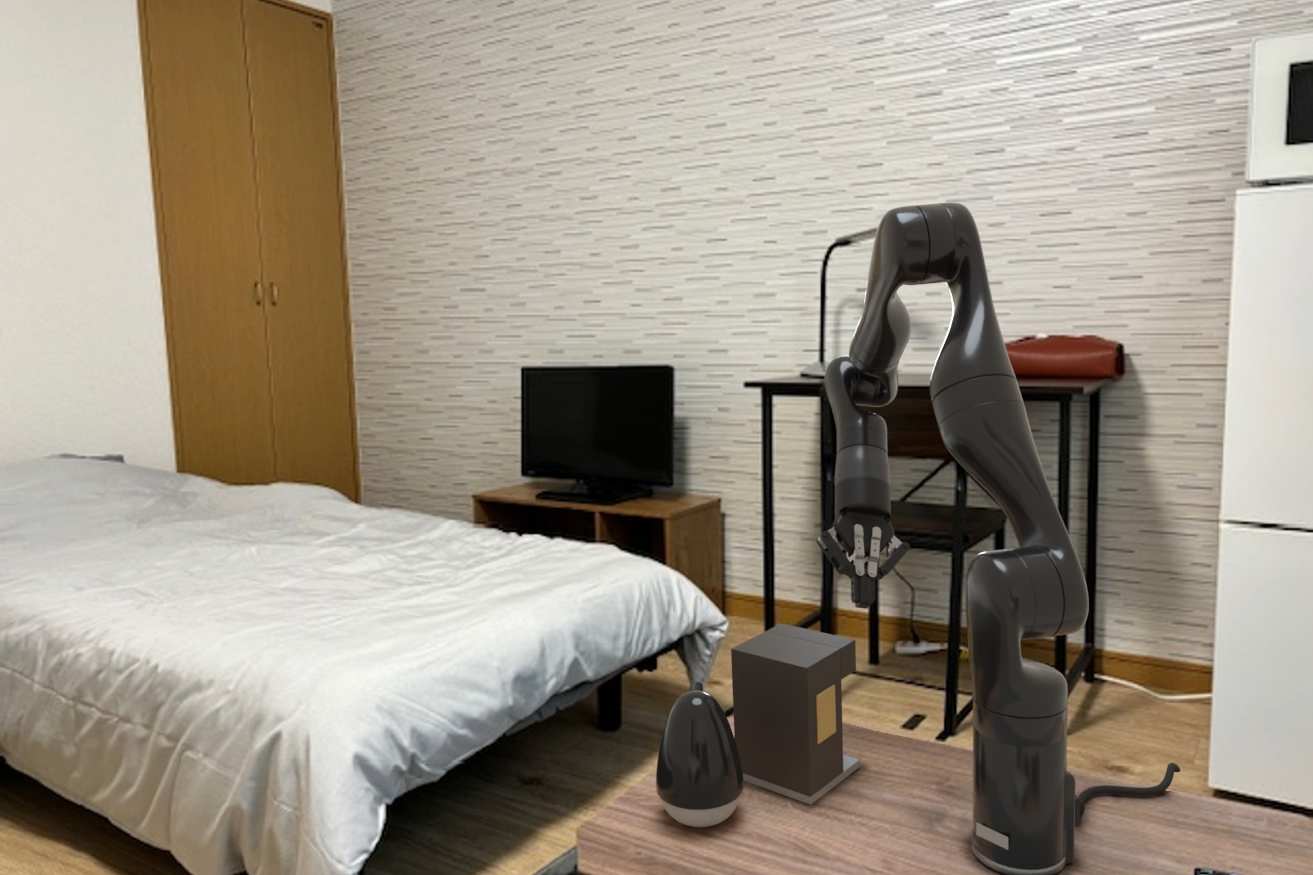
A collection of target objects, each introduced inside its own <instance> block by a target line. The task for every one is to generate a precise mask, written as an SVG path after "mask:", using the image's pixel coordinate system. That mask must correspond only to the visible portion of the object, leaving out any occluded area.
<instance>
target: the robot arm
mask: <svg viewBox="0 0 1313 875" xmlns="http://www.w3.org/2000/svg"><path fill="white" fill-rule="evenodd" d="M876 229H877V230H876V232H875V236H874V241H873V245H872V252H871V257H870V263H869V268H868V269H869V270H868V275H867V281H866V289H865V295H864V303H863V309H862V312H861V316H860V319H859V321H858V324H857V326H856V328H855V331H854V334H853V336H852V339H851V342H850V344H849V349H848V355H839V356H836V357H834V358H833V359H832V360H831V361H830V362H829V363H828V365H827V366H826V369H825V371H824V372H825V373H824V388H825V392H826V396H827V398H828V402H829V405H830V407H831V411H832V414H833V419H834V422H835V429H836V462H835V468H834V477H833V483H834V520H833V522H832V524H831V526H830V527H831V528H830V529H828V530H823V531H822V532H821V533H820V534H819V535H818V536H817V537H816V539H815V542H816V544H817V545H818V547H819V548H820V549H821V551H822V552H823V553H824V555H825V557H826V558H827V559H828V561H829V562H830V564H831V565H832V567H833V568H834V569H835V571H836V572H837V573H838V574H839V575H844V576H845V577H848V578H849V579H850V600H851V602H852V604H854V605H855V608H858V609H865V610H867V609H869V608H870V607H871V605H872V604H873V603H875V601H876V580H879V581H880V580H882V579H883V578H885V577H886V576H887V575H889V573H890V572H892V570H893V569H894V568H895V566H897V564H898V563H899V562H900V561H901V559H902V558H903V557H904V556H905V555H906V553H907V552H908V551H909V550H910V548H911V546H910V544H909V543H908V542H907V541H904V542H903V541H901V539H899V538H898V537H897V536H896V535H895V530H894V527H893V525H892V521H891V516H892V508H891V507H892V506H891V504H892V502H891V500H892V499H891V471H890V470H891V469H890V462H889V457H888V455H889V453H888V426H887V423H886V420H885V419H884V418H883V417H882V416H881V415H879V414H877V413H874V412H871V411H869V410H866V409H865V408H864V409H863V408H862V407H872V408H882V407H886V406H887V405H889V404H891V403H892V402H893V401H894V400H895V399H896V397H897V394H898V391H899V372H898V371H899V370H898V369H899V363H900V360H901V358H902V355H903V353H904V352H905V349H906V347H907V345H908V344H909V340H910V338H911V334H912V319H911V316H910V313H909V311H908V309H907V307H906V304H905V303H904V302H903V300H902V299H901V296H900V295H899V294H898V292H897V291H898V290H899V289H900V288H901V287H902V286H919V285H930V284H940V283H945V284H946V286H947V287H948V290H949V292H950V297H951V306H952V316H951V320H950V324H949V326H948V327H949V328H948V331H947V333H946V336H945V338H944V341H943V343H942V345H941V347H940V350H939V353H938V355H937V358H936V360H935V363H934V366H933V368H932V372H931V374H930V375H931V376H930V381H929V382H930V383H929V395H930V399H931V403H932V407H933V410H934V415H935V418H936V422H937V426H938V430H939V433H940V436H941V439H942V441H943V444H944V446H945V447H946V449H947V450H948V452H949V453H950V454H951V456H952V457H953V458H954V460H956V461H957V462H958V464H959V465H960V466H961V467H962V468H963V469H964V470H965V471H966V472H967V473H968V474H969V476H971V477H972V478H973V479H974V480H975V481H976V482H977V483H978V484H979V485H980V486H981V487H982V488H983V489H984V490H985V491H986V492H987V493H988V494H989V495H990V496H991V497H992V498H993V499H994V500H995V502H996V503H997V505H998V506H999V507H1000V509H1001V510H1002V511H1003V513H1004V514H1005V517H1006V518H1007V520H1008V522H1009V524H1010V526H1011V528H1012V531H1013V534H1014V536H1015V539H1016V541H1017V543H1018V546H1019V547H1014V548H1013V547H1012V548H1004V549H994V550H987V551H982V552H979V553H977V554H976V555H974V556H973V557H972V559H971V560H970V561H969V564H968V567H967V568H966V574H965V579H964V580H965V581H964V601H965V617H966V631H967V636H966V637H967V658H968V659H967V660H968V666H969V671H970V676H971V683H972V835H971V849H972V853H973V854H974V856H975V857H976V859H977V860H979V861H980V862H981V863H982V864H983V865H985V866H986V867H988V868H990V869H992V870H994V871H996V872H997V873H1001V874H1005V875H1055V874H1057V873H1059V872H1060V871H1061V870H1062V869H1064V868H1065V866H1066V865H1067V864H1068V865H1069V864H1073V863H1075V828H1078V827H1080V826H1081V820H1082V818H1083V815H1084V813H1085V810H1086V805H1085V802H1086V801H1087V800H1088V799H1089V798H1090V797H1092V796H1095V795H1100V794H1117V795H1126V796H1155V795H1158V794H1159V795H1160V793H1163V792H1165V791H1166V790H1167V789H1168V788H1169V787H1170V786H1171V784H1172V782H1173V779H1174V775H1175V773H1180V772H1182V771H1181V768H1180V766H1179V765H1178V764H1177V763H1175V762H1170V763H1168V764H1167V767H1166V771H1165V774H1164V777H1163V779H1162V780H1161V782H1160V783H1158V784H1157V785H1154V786H1147V787H1134V786H1123V785H1108V784H1106V785H1105V784H1104V785H1103V784H1102V785H1093V786H1091V787H1088V788H1086V789H1084V790H1083V791H1081V792H1080V793H1079V795H1077V794H1076V778H1075V775H1073V774H1072V773H1071V772H1070V771H1068V768H1067V767H1068V704H1069V703H1068V702H1069V698H1068V697H1069V690H1068V689H1069V688H1068V682H1067V680H1066V678H1065V676H1064V674H1063V673H1062V672H1060V671H1059V670H1057V669H1056V668H1054V667H1053V666H1051V665H1048V664H1046V663H1044V662H1041V661H1038V660H1035V659H1032V658H1031V659H1030V658H1026V657H1023V656H1022V651H1021V641H1025V640H1027V641H1028V640H1035V639H1043V638H1051V637H1052V638H1053V637H1060V636H1066V635H1070V634H1074V633H1077V632H1079V631H1080V630H1081V629H1083V627H1084V626H1085V624H1086V622H1087V619H1088V615H1089V605H1090V602H1089V592H1088V585H1087V581H1086V578H1085V574H1084V571H1083V568H1082V565H1081V562H1080V560H1079V556H1078V554H1077V552H1076V550H1075V547H1074V545H1073V542H1072V539H1071V537H1070V535H1069V531H1068V529H1067V527H1066V525H1065V522H1064V520H1063V518H1062V516H1061V513H1060V510H1059V509H1058V506H1057V503H1056V500H1055V499H1054V495H1053V494H1052V491H1051V488H1050V486H1049V483H1048V480H1047V477H1046V474H1045V471H1044V469H1043V468H1044V467H1043V465H1042V462H1041V458H1040V454H1039V452H1038V450H1037V446H1036V443H1035V438H1034V436H1033V432H1032V430H1031V429H1032V428H1031V425H1030V421H1029V418H1028V414H1027V410H1026V406H1025V403H1024V399H1023V397H1022V393H1021V389H1020V386H1019V383H1018V379H1017V377H1016V374H1015V370H1014V369H1013V365H1012V362H1011V360H1010V357H1009V354H1008V350H1007V347H1006V344H1005V341H1004V338H1003V333H1002V330H1001V326H1000V323H999V320H998V316H997V312H996V309H995V304H994V300H993V296H992V295H993V294H992V290H991V286H990V281H989V275H988V270H987V266H986V260H985V255H984V250H983V245H982V241H981V237H980V233H979V229H978V226H977V224H976V220H975V218H974V216H973V214H972V213H971V211H970V209H969V208H968V207H967V206H966V205H964V204H962V203H960V202H959V203H958V202H939V203H929V204H928V203H927V204H915V205H914V204H913V205H905V206H898V207H894V208H891V209H889V210H887V211H886V212H885V214H884V215H883V216H882V218H881V219H880V221H879V223H878V227H877V228H876ZM859 406H861V407H859ZM838 542H839V544H840V545H841V547H842V548H843V550H844V551H845V552H846V554H845V553H844V551H843V550H842V549H841V547H840V545H839V544H838ZM887 545H888V546H889V547H888V549H887V552H888V554H889V556H888V557H886V559H885V561H883V562H882V564H881V565H880V566H879V567H878V562H879V560H880V554H881V553H882V552H883V550H884V549H886V547H887Z"/></svg>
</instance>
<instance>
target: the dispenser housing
mask: <svg viewBox="0 0 1313 875" xmlns="http://www.w3.org/2000/svg"><path fill="white" fill-rule="evenodd" d="M856 654H857V651H856V639H854V638H849V637H845V636H840V635H836V634H831V633H826V632H823V631H819V630H818V631H817V630H813V629H810V628H809V629H808V628H805V627H799V626H795V625H791V624H786V623H779V624H778V625H776V626H772V627H771V628H769V629H767V630H766V631H763V632H761V633H759V634H758V635H755V636H753V637H752V638H750V639H747V640H745V641H743V642H742V643H739V644H738V645H735V646H734V647H732V648H730V657H731V680H732V681H731V683H732V684H731V685H732V686H731V687H732V709H733V710H732V711H733V735H734V738H735V741H736V745H737V748H738V752H739V756H740V761H741V766H742V771H743V779H744V782H746V783H749V784H752V785H754V786H757V787H760V788H763V789H766V790H768V791H770V792H773V793H776V794H779V795H781V796H785V797H787V798H790V799H793V800H796V801H799V802H801V803H805V804H807V805H813V804H814V803H815V802H817V801H818V800H819V799H820V798H822V797H823V796H825V795H826V794H827V793H828V792H830V791H831V790H832V789H833V788H835V787H836V786H837V785H839V784H840V783H842V781H844V780H845V779H846V778H847V777H849V776H850V775H852V773H854V772H855V771H857V770H858V769H859V768H860V767H861V760H860V759H859V758H855V757H852V756H850V755H847V754H844V740H843V737H844V736H843V735H844V734H843V693H842V690H843V689H842V688H843V687H842V680H843V679H845V678H847V677H848V676H850V675H852V674H853V673H854V672H856V671H857V655H856Z"/></svg>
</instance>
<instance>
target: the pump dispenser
mask: <svg viewBox="0 0 1313 875" xmlns="http://www.w3.org/2000/svg"><path fill="white" fill-rule="evenodd" d="M692 689H693V690H689V691H687V692H685V693H683V694H681V695H680V696H679V697H678V698H677V699H676V701H675V702H674V703H673V705H672V707H671V708H670V711H669V713H668V716H667V718H666V721H665V724H664V728H663V732H662V736H661V740H660V744H659V748H658V749H659V750H658V755H657V762H656V770H655V771H656V772H655V790H656V793H657V796H658V797H659V798H660V801H661V804H662V806H663V808H664V809H665V811H666V813H667V814H668V815H669V816H670V817H671V818H672V819H673V820H675V821H676V822H678V823H680V824H682V825H685V826H688V827H694V828H707V827H712V826H716V825H718V824H720V823H722V822H724V821H725V820H727V819H728V818H729V817H730V816H731V815H732V814H733V813H734V812H735V810H736V808H737V806H738V804H739V801H740V798H741V795H742V793H743V791H744V787H745V783H744V782H745V781H744V779H743V771H742V766H741V761H740V756H739V752H738V748H737V745H736V741H735V737H734V731H733V729H732V727H731V724H730V721H729V718H728V716H727V714H726V713H725V711H724V709H723V708H722V706H721V704H720V703H719V702H718V700H717V699H716V698H715V697H714V696H713V695H712V694H711V693H708V692H706V691H704V684H703V682H701V681H696V682H694V684H693V688H692Z"/></svg>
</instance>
